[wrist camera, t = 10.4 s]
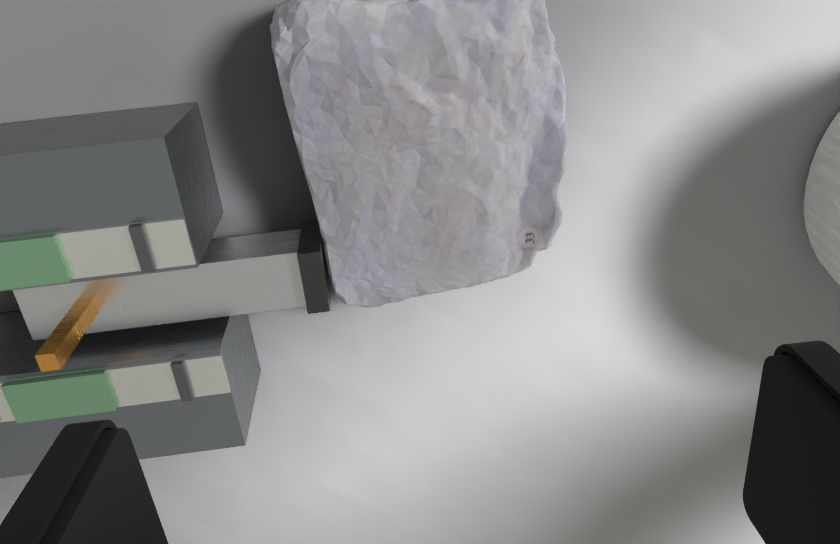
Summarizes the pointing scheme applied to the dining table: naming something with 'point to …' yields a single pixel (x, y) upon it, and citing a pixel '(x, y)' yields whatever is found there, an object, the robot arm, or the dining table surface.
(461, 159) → the stone block
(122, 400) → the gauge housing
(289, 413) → the dining table surface
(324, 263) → the bar with dark endcap
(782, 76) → the dining table surface
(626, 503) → the dining table surface
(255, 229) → the dining table surface
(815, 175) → the ramekin
